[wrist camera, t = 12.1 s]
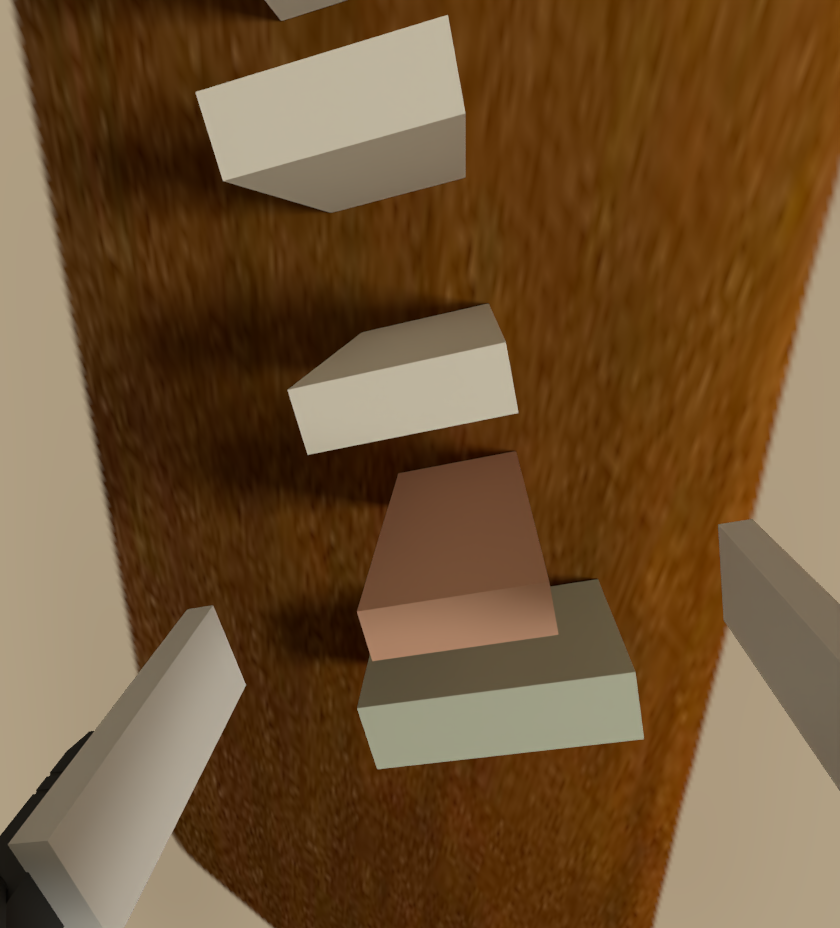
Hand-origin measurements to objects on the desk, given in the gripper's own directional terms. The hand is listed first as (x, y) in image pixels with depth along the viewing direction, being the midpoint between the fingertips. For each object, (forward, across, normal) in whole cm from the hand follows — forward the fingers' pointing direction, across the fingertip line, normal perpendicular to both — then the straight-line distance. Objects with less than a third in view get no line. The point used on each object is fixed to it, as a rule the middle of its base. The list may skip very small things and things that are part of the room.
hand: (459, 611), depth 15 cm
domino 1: (+10, 0, +12) cm, 15 cm away
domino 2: (+10, 0, +6) cm, 11 cm away
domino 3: (+10, 0, 0) cm, 10 cm away
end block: (+10, 0, -8) cm, 12 cm away
